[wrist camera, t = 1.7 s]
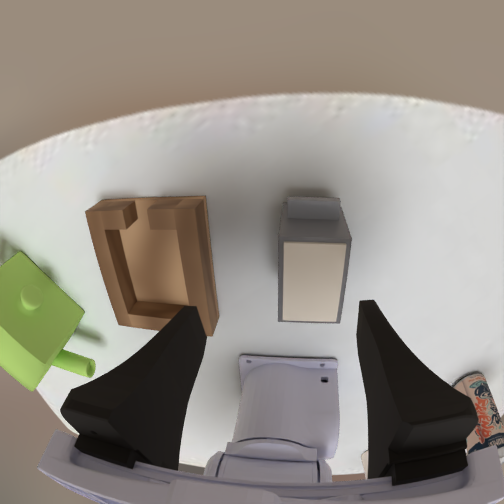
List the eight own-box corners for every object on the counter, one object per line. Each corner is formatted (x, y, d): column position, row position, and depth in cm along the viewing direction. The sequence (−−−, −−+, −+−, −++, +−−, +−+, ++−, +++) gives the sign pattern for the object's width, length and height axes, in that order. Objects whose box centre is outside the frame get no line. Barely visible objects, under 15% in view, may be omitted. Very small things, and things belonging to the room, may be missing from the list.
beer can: (489, 374, 27) (519, 453, 17) (464, 397, 30) (486, 475, 19) (468, 367, 27) (499, 454, 17) (442, 393, 30) (463, 477, 19)
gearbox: (125, 329, 31) (88, 395, 23) (94, 363, 35) (63, 418, 27) (9, 221, 27) (-49, 262, 18) (-5, 272, 30) (-49, 314, 22)
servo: (341, 187, 21) (354, 219, 16) (332, 289, 25) (337, 338, 20) (283, 186, 21) (278, 216, 16) (282, 288, 25) (277, 337, 20)
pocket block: (205, 196, 22) (194, 208, 20) (219, 316, 27) (212, 336, 25) (102, 199, 24) (85, 211, 21) (130, 308, 29) (118, 324, 26)
